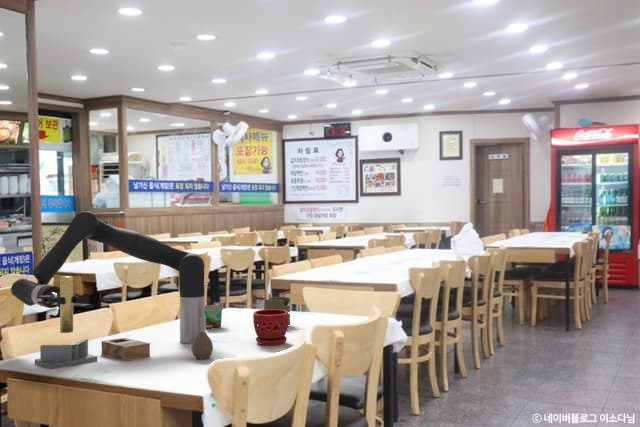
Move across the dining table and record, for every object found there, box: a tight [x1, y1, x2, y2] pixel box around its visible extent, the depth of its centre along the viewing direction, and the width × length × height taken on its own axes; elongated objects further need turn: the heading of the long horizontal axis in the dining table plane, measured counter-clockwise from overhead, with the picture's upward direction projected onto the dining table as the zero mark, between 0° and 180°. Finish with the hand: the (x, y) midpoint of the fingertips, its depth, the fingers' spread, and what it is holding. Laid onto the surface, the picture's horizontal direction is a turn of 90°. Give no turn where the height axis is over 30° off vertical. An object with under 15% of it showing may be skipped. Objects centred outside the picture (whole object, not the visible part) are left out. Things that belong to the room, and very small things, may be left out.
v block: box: [34, 338, 98, 370], centre depth 221 cm, size 12×16×6 cm
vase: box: [191, 332, 214, 360], centre depth 226 cm, size 7×7×9 cm
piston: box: [263, 296, 291, 326], centre depth 291 cm, size 11×12×11 cm
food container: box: [205, 301, 224, 330], centre depth 288 cm, size 12×6×10 cm, turn 168°
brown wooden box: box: [101, 337, 151, 361], centre depth 232 cm, size 16×9×4 cm, turn 47°
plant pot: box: [252, 309, 289, 346], centre depth 252 cm, size 13×13×12 cm
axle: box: [59, 275, 74, 334], centre depth 221 cm, size 4×4×18 cm
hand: (70, 300), depth 219 cm, fingers closed on axle, 4 cm apart
